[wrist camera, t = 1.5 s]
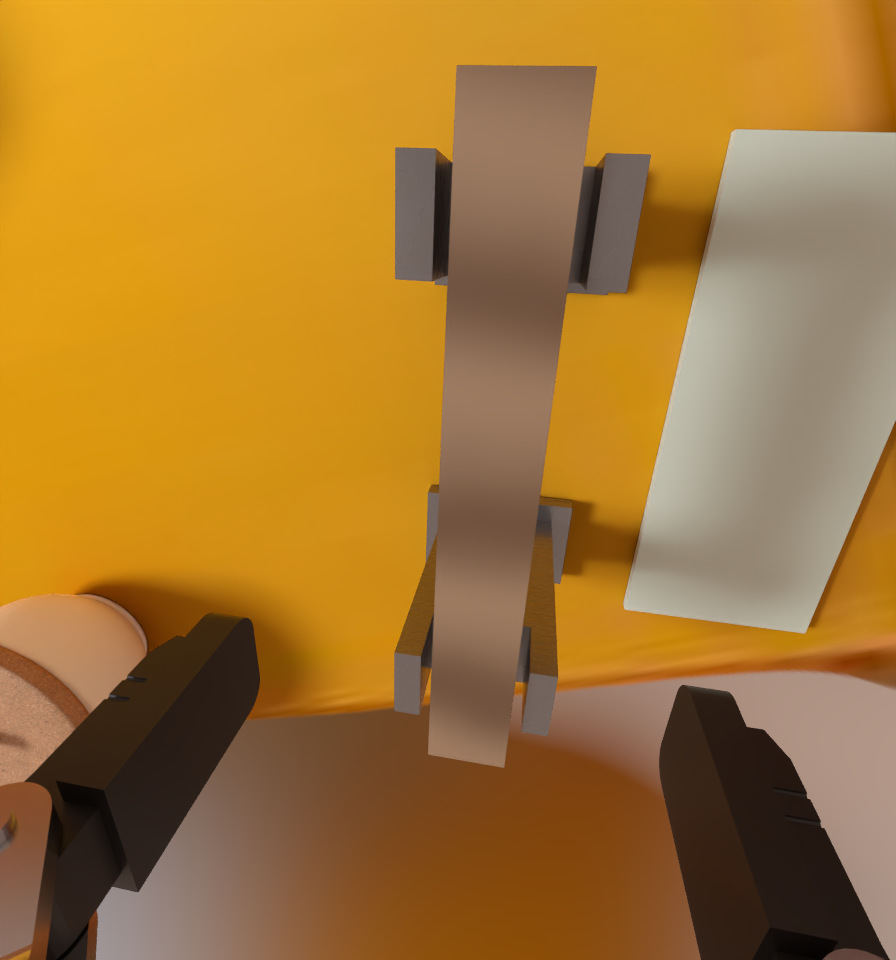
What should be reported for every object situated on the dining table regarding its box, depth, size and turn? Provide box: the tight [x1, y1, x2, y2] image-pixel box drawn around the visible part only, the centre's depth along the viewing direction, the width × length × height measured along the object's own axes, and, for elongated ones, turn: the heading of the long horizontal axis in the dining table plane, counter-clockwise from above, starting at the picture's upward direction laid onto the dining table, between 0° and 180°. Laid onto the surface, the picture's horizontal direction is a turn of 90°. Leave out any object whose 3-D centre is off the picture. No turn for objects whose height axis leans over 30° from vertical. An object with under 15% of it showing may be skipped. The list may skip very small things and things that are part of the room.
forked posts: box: [394, 147, 651, 736], centre depth 22 cm, size 21×8×12 cm, turn 178°
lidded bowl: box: [0, 594, 148, 786], centre depth 35 cm, size 13×13×11 cm
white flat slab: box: [623, 129, 896, 633], centre depth 26 cm, size 24×10×1 cm, turn 178°
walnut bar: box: [428, 65, 597, 768], centre depth 17 cm, size 22×3×3 cm, turn 178°
